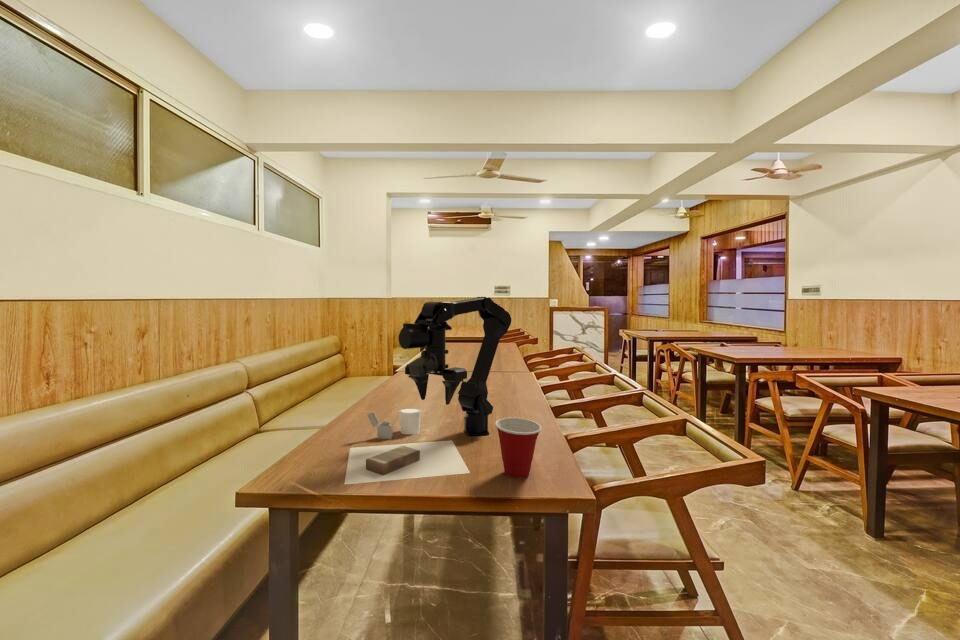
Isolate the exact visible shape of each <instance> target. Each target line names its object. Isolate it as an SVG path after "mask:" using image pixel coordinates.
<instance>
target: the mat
mask: <svg viewBox="0 0 960 640" xmlns="http://www.w3.org/2000/svg"><path fill="white" fill-rule="evenodd" d="M401 446H405V447H409V448H412V449H416V450H419V451H420V460H419V461H417V462H414V463H412V464H410V465H407V466H405V467H402V468H400V469H398V470H395V471H393V472H390V473H388V474H386V475H380V474H377V473H374V472H372V471H369V470H366V459H368V458H371V457H373V456H376V455H379V454H382V453H384V452H387V451H390V450H393V449H395V448H398V447H401ZM470 473H471V471H470V470H469V468H468V467H467V465H466V463H465V460H464V459H463V458H462V456H461V454H460V452H459V450H458V448H457V446H456V445H455V443H454V442H453V440H439V441H428V442H427V441H425V442H413V443H399V444H398V443H397V444H385V445H369V446H358V447H350V448H349V453H348V459H347V466H346V472H345V479H344V485H355V484H357V485H358V484H366V483H367V484H368V483H377V482H378V483H379V482H389V481H390V482H391V481H399V480H410V479H411V480H412V479H419V478H420V479H422V478H431V477H441V476H442V477H445V476H455V475H464V474H465V475H466V474H470Z"/></svg>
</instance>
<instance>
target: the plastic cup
mask: <svg viewBox="0 0 960 640" xmlns="http://www.w3.org/2000/svg"><path fill="white" fill-rule="evenodd" d="M495 428H496V429H497V433H498V439H499V447H500V452H501V457H502V458H501V459H502V462H503V463H502V464H503V465H502V466H503V471H504V474H505V475H506V476H507V475H508V476H507V477H509V476H510V477H509V478H511V477H514V478H513V479H523V478H522V477H525V478H527V477H528V476H530V472H531V468H532V461H533V458H534V454H535V450H536V449H535V448H536V444H537V440H538V436H539V433H540V432H541V431H542V429H543V428H542V426H541V424H540V423H538V422H536V421H533V420H531V419H527V418H523V417H521V418H520V417H503V418H500V419H497V420H496V421H495ZM526 476H527V477H526Z"/></svg>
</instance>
